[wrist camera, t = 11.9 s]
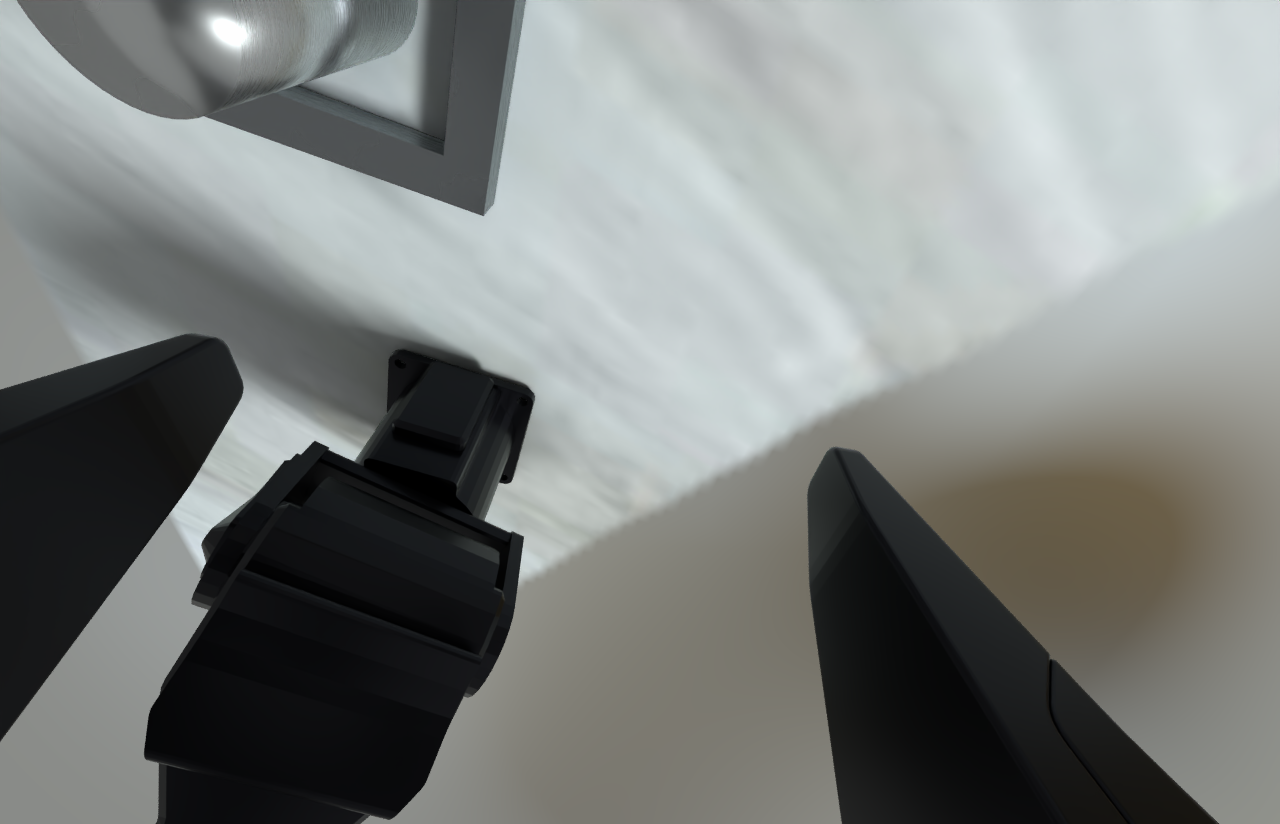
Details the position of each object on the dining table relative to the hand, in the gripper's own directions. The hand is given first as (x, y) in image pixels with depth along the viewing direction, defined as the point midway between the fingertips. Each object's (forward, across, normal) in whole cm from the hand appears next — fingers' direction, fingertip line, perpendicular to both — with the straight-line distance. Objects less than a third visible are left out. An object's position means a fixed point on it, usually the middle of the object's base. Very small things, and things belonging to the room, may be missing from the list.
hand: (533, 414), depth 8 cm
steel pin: (+13, +8, -4) cm, 16 cm away
